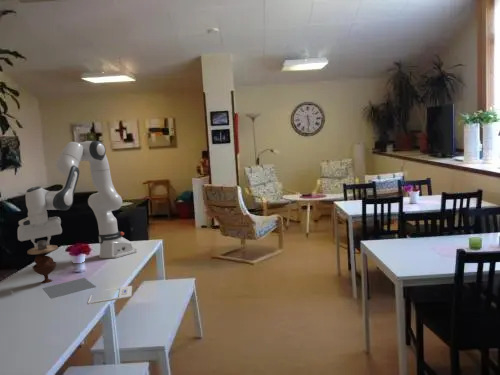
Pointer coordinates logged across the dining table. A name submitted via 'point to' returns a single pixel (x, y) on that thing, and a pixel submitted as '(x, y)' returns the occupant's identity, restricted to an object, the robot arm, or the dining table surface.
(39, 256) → the ice cream bowl
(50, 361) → the dining table surface
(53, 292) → the rubber mat
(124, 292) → the photo frame
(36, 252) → the walnut lid
